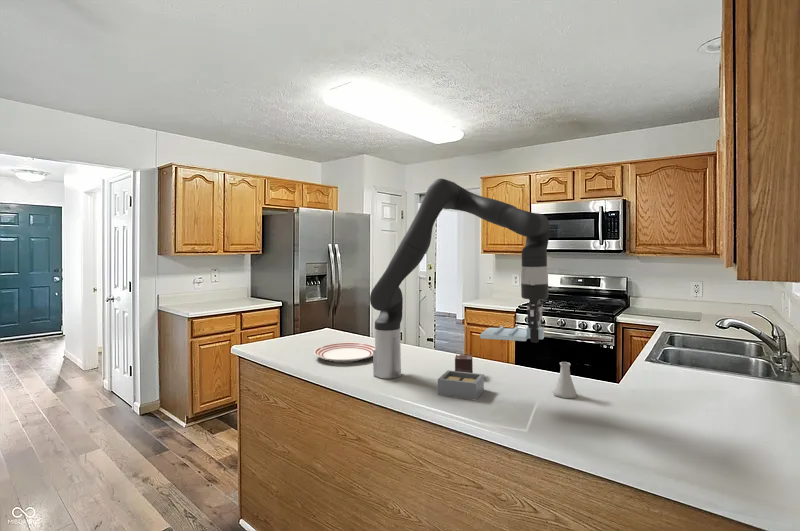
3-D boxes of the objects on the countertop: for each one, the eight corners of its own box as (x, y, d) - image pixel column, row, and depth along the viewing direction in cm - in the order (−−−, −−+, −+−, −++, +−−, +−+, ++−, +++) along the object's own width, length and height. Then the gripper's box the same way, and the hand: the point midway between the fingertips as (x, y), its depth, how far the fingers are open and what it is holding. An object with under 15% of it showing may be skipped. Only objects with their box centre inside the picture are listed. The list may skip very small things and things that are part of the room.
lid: (480, 338, 127) (479, 328, 127) (488, 331, 137) (488, 321, 137) (541, 342, 120) (541, 331, 120) (545, 334, 130) (545, 324, 130)
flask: (575, 400, 129) (575, 367, 129) (550, 396, 133) (550, 364, 132) (579, 393, 135) (579, 361, 135) (555, 389, 139) (555, 358, 139)
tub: (438, 396, 134) (437, 379, 134) (448, 386, 144) (447, 370, 143) (475, 401, 130) (475, 383, 129) (483, 391, 139) (483, 374, 138)
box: (472, 380, 150) (472, 359, 150) (454, 379, 151) (454, 358, 151) (472, 374, 156) (472, 354, 156) (456, 374, 157) (455, 354, 157)
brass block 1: (445, 392, 137) (445, 379, 136) (449, 388, 140) (449, 376, 140) (457, 393, 135) (457, 381, 135) (461, 389, 139) (461, 377, 138)
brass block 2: (461, 394, 134) (461, 381, 134) (464, 390, 138) (464, 377, 138) (473, 395, 133) (473, 383, 133) (477, 391, 136) (477, 379, 136)
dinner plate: (392, 355, 185) (392, 348, 185) (343, 370, 165) (343, 361, 165) (349, 346, 203) (349, 339, 203) (300, 358, 183) (300, 350, 183)
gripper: (524, 279, 133) (525, 335, 134) (517, 284, 121) (518, 345, 121) (550, 280, 130) (551, 336, 131) (545, 284, 117) (546, 347, 118)
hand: (535, 340), depth 126 cm, fingers closed on lid, 3 cm apart
